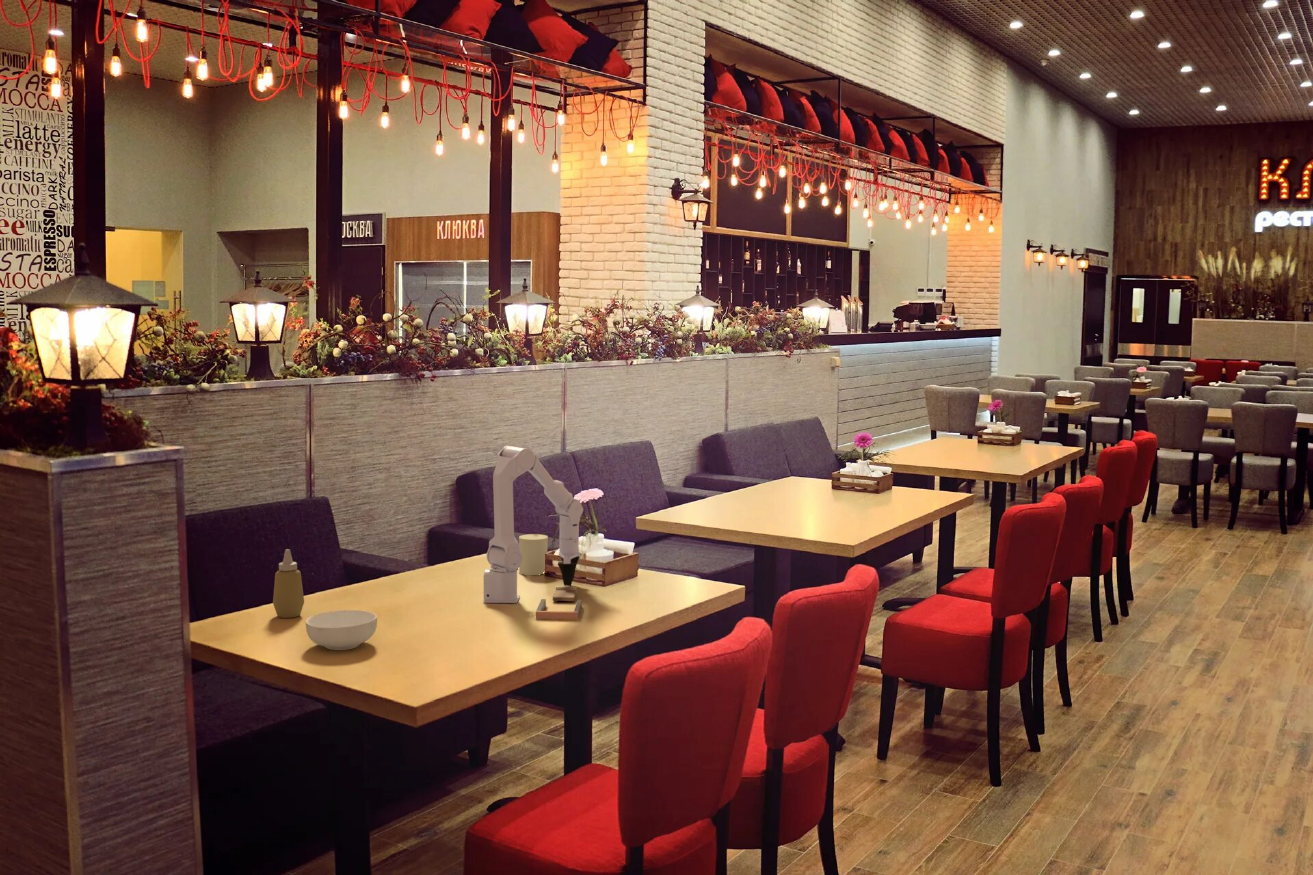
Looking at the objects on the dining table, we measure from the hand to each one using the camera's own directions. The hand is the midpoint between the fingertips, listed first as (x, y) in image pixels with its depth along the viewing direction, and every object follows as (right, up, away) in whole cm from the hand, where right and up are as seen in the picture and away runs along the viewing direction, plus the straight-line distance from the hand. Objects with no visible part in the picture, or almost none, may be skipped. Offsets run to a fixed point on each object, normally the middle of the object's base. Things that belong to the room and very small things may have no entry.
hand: (568, 582), depth 348 cm
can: (-13, 0, +20) cm, 24 cm away
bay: (0, -5, -29) cm, 29 cm away
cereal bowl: (-51, -8, -63) cm, 81 cm away
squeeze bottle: (-72, -5, -36) cm, 81 cm away
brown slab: (0, -3, -13) cm, 13 cm away
